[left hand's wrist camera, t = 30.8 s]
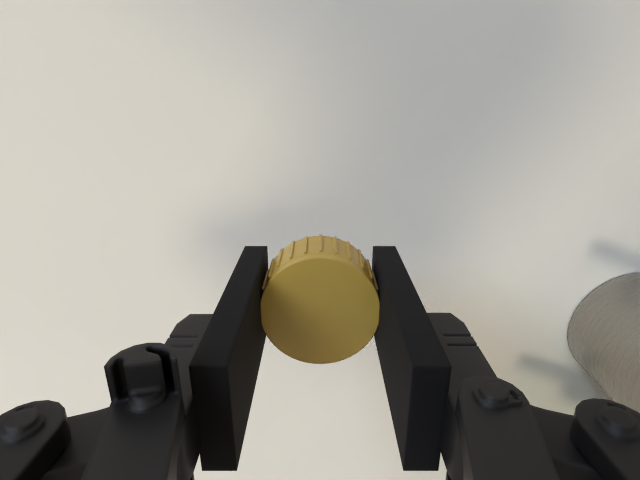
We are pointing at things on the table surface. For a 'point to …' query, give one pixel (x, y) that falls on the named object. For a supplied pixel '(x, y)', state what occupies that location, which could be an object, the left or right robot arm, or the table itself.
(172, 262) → the table surface
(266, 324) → the cap
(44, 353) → the table surface
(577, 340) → the bottle
